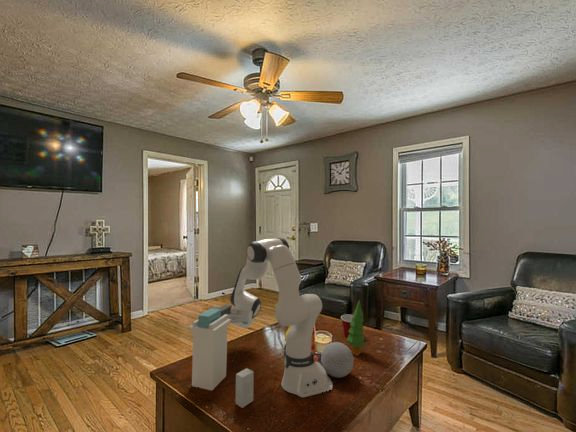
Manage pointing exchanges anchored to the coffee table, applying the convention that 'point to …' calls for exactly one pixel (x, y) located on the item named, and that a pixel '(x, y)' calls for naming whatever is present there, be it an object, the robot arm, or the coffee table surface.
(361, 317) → the decorative tree
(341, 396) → the coffee table surface
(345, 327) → the plastic cup
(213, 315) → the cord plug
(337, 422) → the coffee table surface
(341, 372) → the decorative ball
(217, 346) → the cable duct stand
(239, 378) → the skincare box
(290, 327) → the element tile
